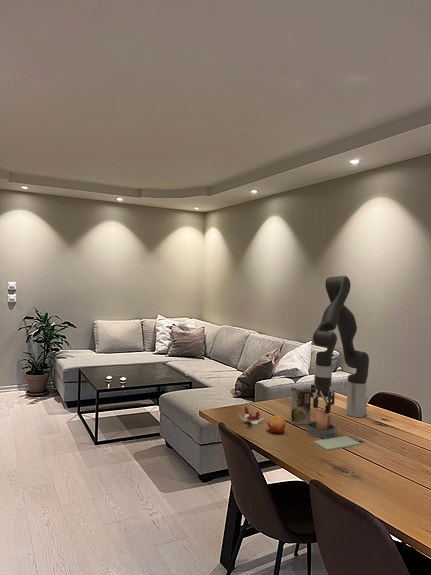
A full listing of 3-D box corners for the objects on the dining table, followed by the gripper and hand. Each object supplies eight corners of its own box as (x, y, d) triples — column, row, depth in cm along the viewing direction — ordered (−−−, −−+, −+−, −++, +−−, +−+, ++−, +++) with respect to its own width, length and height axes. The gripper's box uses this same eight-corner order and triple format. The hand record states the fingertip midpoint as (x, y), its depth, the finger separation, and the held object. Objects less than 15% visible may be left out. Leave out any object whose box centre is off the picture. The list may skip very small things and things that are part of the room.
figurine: (266, 428, 199) (267, 414, 199) (242, 428, 198) (242, 414, 198) (259, 417, 214) (260, 404, 214) (236, 418, 213) (237, 404, 213)
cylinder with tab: (320, 435, 193) (321, 413, 193) (313, 431, 197) (314, 409, 197) (333, 433, 196) (334, 411, 196) (326, 429, 200) (326, 408, 200)
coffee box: (308, 420, 212) (309, 388, 212) (310, 425, 206) (311, 391, 205) (289, 419, 213) (291, 387, 213) (290, 424, 207) (292, 390, 206)
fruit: (288, 426, 199) (286, 413, 195) (284, 439, 193) (282, 427, 189) (271, 423, 202) (269, 411, 199) (266, 436, 196) (264, 424, 193)
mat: (346, 437, 191) (346, 435, 191) (360, 444, 183) (360, 443, 183) (313, 442, 184) (313, 441, 184) (327, 450, 176) (327, 449, 176)
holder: (323, 426, 205) (323, 420, 205) (342, 435, 193) (342, 429, 193) (300, 429, 199) (301, 423, 199) (318, 439, 188) (319, 432, 187)
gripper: (340, 378, 191) (338, 414, 191) (319, 371, 204) (318, 405, 204) (326, 379, 188) (324, 416, 188) (306, 372, 201) (305, 406, 201)
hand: (321, 410), depth 196 cm, fingers open, 8 cm apart
